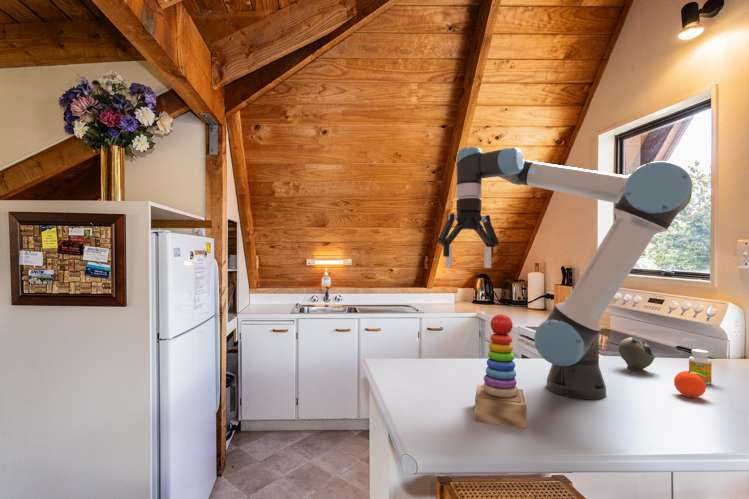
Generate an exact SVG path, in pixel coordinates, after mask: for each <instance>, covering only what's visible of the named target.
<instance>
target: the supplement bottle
mask: <svg viewBox="0 0 749 499" xmlns="http://www.w3.org/2000/svg"><path fill="white" fill-rule="evenodd" d="M691 355H692V356H689V358H688V371H690V372H696V373H699V374H698V375H699V376H701V377H702V378H703V379H704V381H705V383H706V385H711V384H712V377H713V376H712V360H711V359H710V358H709V356H710V354H709V351H708V350H704V349H695V348H694V349H691ZM700 374H702V375H700ZM703 375H704V376H703ZM706 377H707V378H708V379H709V380H708V379H707V378H706Z"/></svg>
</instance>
